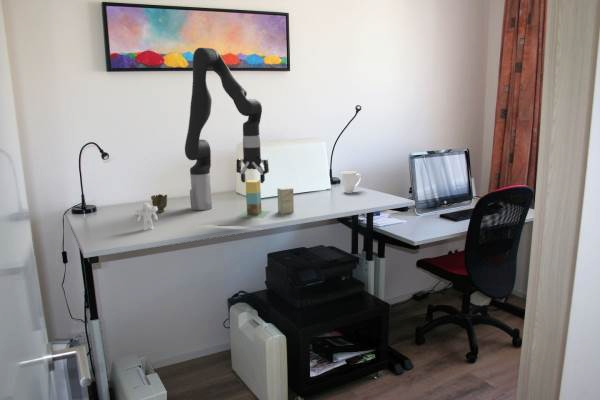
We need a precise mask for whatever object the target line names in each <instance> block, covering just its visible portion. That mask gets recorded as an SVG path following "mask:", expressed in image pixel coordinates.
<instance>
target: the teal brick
mask: <svg viewBox="0 0 600 400" xmlns="http://www.w3.org/2000/svg"><path fill="white" fill-rule="evenodd" d="M261 193H262V191H261V190H260V192H258V193H246V192H245V195H246V196H245V197H246V205H247V204H256V205H257V204H259V203H260V202H261V203H262V196H261Z"/></svg>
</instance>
